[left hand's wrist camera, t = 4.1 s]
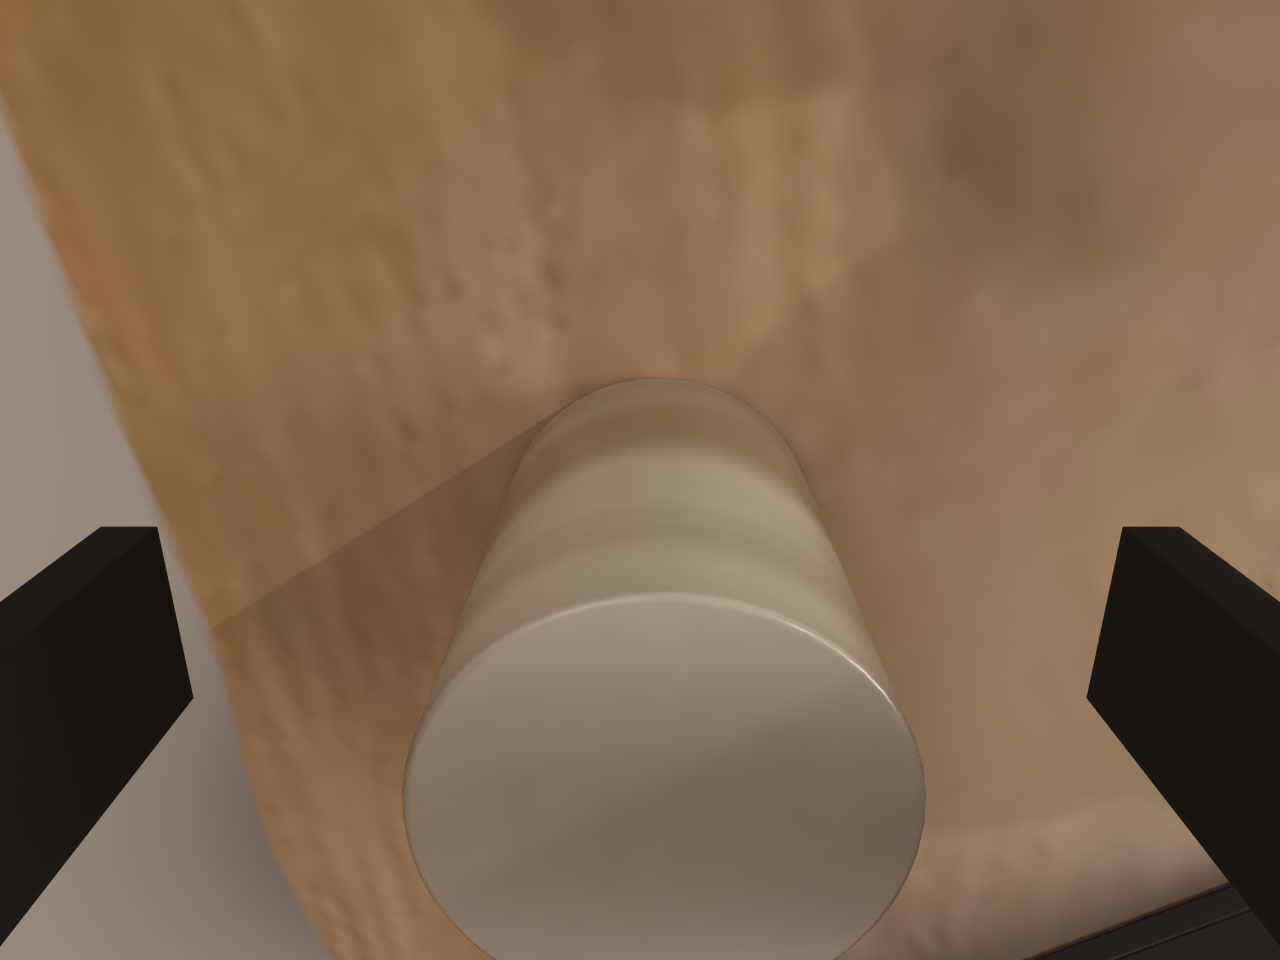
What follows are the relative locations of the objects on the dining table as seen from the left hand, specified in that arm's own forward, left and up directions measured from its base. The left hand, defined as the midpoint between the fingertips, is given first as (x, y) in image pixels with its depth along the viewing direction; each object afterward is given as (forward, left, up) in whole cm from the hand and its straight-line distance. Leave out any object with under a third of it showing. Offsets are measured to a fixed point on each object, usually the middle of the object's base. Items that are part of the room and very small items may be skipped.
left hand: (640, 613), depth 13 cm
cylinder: (0, 0, -3) cm, 3 cm away
